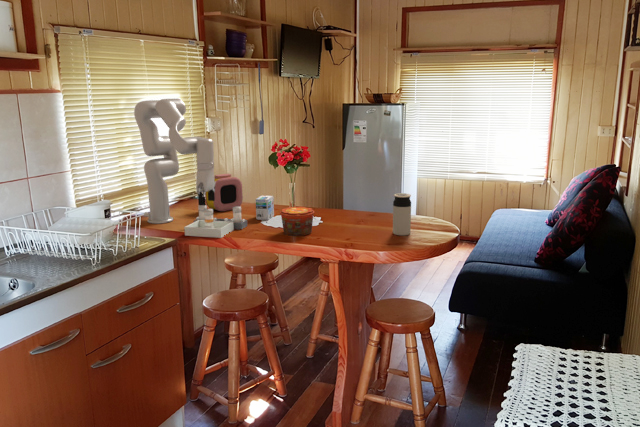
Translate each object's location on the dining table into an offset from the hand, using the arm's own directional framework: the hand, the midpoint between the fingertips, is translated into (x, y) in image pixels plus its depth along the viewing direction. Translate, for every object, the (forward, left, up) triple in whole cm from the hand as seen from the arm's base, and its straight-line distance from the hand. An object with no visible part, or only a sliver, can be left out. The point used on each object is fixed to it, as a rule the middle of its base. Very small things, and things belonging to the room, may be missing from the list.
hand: (206, 202), depth 249 cm
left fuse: (-8, +12, -14) cm, 20 cm away
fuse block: (+1, +12, -14) cm, 18 cm away
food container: (+41, +9, -14) cm, 44 cm away
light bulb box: (+16, +34, -14) cm, 40 cm away
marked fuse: (+1, 0, -13) cm, 13 cm away
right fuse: (+10, +12, -14) cm, 21 cm away
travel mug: (+88, +17, -14) cm, 90 cm away
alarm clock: (-13, +48, -14) cm, 51 cm away
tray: (+1, 0, -14) cm, 14 cm away
